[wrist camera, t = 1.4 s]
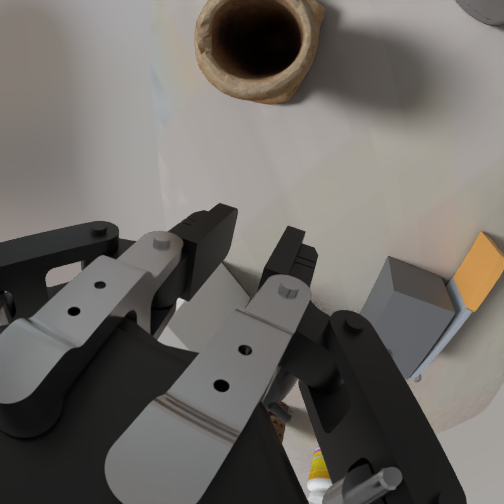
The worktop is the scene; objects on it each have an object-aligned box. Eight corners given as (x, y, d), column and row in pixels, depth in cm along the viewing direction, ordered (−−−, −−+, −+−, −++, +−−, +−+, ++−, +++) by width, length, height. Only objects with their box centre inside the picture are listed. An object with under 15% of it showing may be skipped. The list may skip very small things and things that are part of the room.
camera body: (388, 256, 37) (394, 292, 29) (441, 276, 35) (456, 315, 28) (347, 336, 43) (342, 379, 36) (395, 352, 42) (396, 394, 35)
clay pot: (309, 121, 33) (280, 128, 20) (214, 88, 34) (138, 85, 21) (353, 5, 25) (350, -55, 12) (253, -21, 27) (197, -75, 14)
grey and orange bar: (480, 230, 31) (501, 256, 25) (489, 236, 31) (511, 263, 25) (404, 342, 41) (408, 379, 34) (413, 346, 40) (418, 382, 34)
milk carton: (220, 259, 44) (145, 348, 28) (251, 297, 45) (194, 398, 29) (187, 280, 48) (113, 363, 31) (217, 315, 49) (156, 407, 33)
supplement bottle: (309, 448, 59) (295, 497, 48) (332, 440, 55) (321, 493, 44) (328, 459, 59) (317, 507, 48) (351, 452, 56) (342, 502, 45)
